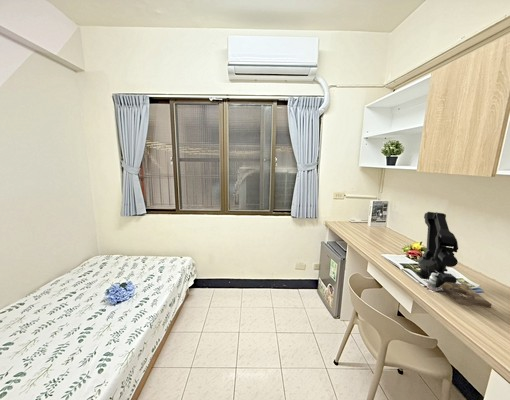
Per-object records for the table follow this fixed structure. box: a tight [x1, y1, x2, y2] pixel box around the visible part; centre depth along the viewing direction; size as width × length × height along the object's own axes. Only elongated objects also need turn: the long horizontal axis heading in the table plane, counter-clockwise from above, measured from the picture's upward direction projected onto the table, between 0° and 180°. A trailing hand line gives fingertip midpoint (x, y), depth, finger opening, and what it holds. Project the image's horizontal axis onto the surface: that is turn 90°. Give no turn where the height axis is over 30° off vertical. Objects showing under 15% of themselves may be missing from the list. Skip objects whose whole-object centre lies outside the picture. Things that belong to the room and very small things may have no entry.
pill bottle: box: [426, 273, 440, 292], centre depth 117 cm, size 5×5×8 cm
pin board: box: [439, 282, 493, 309], centre depth 113 cm, size 16×14×2 cm
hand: (433, 284), depth 117 cm, fingers closed on pill bottle, 5 cm apart
